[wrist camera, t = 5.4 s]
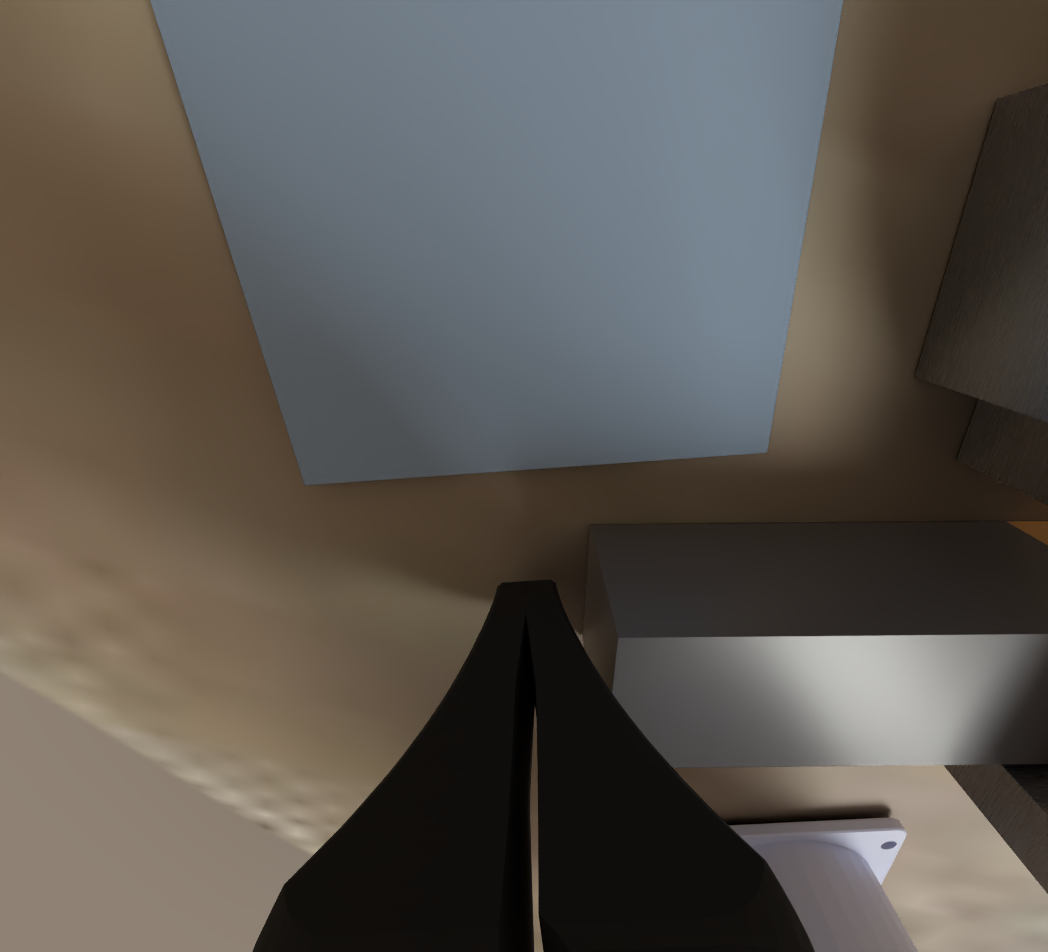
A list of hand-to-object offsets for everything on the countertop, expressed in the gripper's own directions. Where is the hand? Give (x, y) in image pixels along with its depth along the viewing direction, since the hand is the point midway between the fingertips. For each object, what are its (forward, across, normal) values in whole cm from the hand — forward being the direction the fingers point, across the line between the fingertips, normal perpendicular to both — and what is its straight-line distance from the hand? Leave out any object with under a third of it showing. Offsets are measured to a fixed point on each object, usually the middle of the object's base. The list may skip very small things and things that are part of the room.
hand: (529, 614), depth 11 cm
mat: (+1, 0, -8) cm, 8 cm away
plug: (+1, -9, +1) cm, 9 cm away
